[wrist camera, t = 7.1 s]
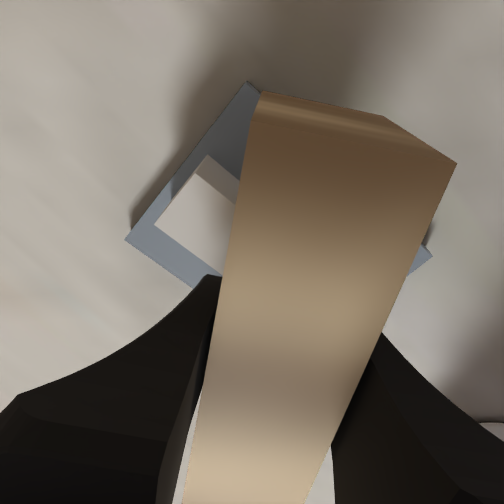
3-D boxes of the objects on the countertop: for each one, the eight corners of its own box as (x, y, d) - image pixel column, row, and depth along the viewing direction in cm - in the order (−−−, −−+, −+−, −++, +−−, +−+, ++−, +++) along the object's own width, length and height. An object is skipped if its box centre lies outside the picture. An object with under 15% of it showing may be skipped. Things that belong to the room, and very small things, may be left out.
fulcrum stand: (426, 247, 16) (457, 288, 14) (296, 351, 20) (299, 402, 17) (246, 81, 14) (239, 89, 11) (130, 231, 17) (100, 268, 14)
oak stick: (284, 407, 16) (287, 541, 12) (205, 393, 16) (178, 523, 12) (382, 116, 11) (456, 163, 6) (262, 90, 10) (250, 120, 6)
